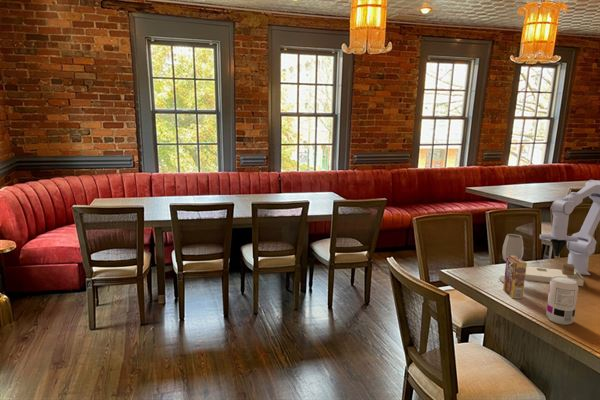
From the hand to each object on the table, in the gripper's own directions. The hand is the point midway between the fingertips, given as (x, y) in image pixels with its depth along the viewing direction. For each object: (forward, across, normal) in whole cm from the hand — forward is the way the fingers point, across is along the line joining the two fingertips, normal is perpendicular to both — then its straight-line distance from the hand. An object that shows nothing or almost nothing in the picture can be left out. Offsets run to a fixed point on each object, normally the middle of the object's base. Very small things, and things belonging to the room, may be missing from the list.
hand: (556, 255), depth 179 cm
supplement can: (+10, -9, -48) cm, 49 cm away
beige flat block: (+10, -3, -3) cm, 11 cm away
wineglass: (+10, -20, -14) cm, 26 cm away
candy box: (+10, -21, -28) cm, 37 cm away
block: (+7, +5, -1) cm, 9 cm away
